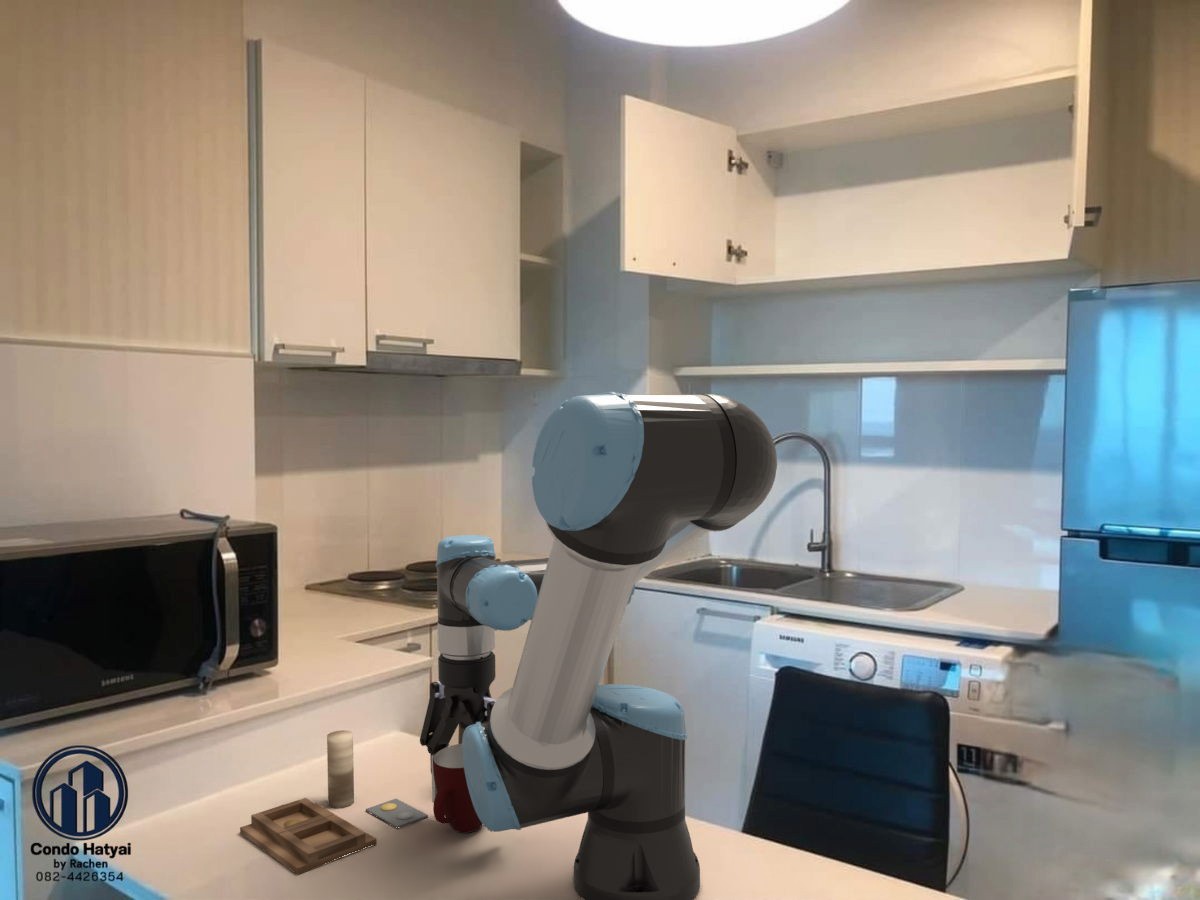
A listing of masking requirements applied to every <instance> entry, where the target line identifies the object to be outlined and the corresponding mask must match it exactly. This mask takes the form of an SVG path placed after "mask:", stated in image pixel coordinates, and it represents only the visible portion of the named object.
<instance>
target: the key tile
mask: <svg viewBox="0 0 1200 900" xmlns="http://www.w3.org/2000/svg"><path fill="white" fill-rule="evenodd" d="M367 811H368V812H370V813H372V814H373V815H372V814H371V815H372V816H374V815H375V816H377V817H378V818H377V817H376V818H377V819H379V818H380V819H379V820H381V819H382V820H381V821H383V820H384V821H385V823H386V822H387V823H386V824H388V823H389V824H388V825H390V824H391V825H393V826H395V827H397V828H398V827H401V828H403V827H406V826H409V825H411V824H414V823H416V822H419V821H422V820H425V819H427V818H429V815H428V814H427V813H426V812H423V811H421V810H420V809H417V808H415V807H413V806H412V805H410V804H408V803H405V802H404V801H402V800H400V799H398V798H393V799H390V800H387V801H385V802H382V803H380V804H376V805H373V806H370V807H368V808H365V812H367ZM368 812H367V813H368ZM370 813H369V814H370ZM375 816H374V817H375ZM426 817H427V818H426ZM424 818H425V819H424ZM421 819H422V820H421ZM384 821H383V822H384ZM408 824H409V825H408ZM391 825H390V826H391ZM405 825H406V826H405ZM393 826H392V827H393ZM402 826H403V827H402ZM395 827H394V828H395ZM397 828H396V829H397ZM398 829H399V828H398Z"/></svg>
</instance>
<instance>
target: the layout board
mask: <svg viewBox="0 0 1200 900" xmlns="http://www.w3.org/2000/svg"><path fill="white" fill-rule="evenodd" d="M250 819H251V820H250V821H251V822H250V824H246V825H244V826H243V825H242V826H241V827H239V830H240V831H239V834H240V835H242V836H243V837H245V838H246V839H247V840H249V841H250V842H251V843H253V844H255V845H256V846H257V847H259V848H260V849H262V850H263V851H264V852H265V853H267V854H268V855H269V856H271V857H272V858H274V859H275V860H277V861H278V862H280V863H281V864H282V865H283V866H285V867H286V866H287V867H286V868H288V869H289V868H290V869H291V871H292V872H293V871H294V872H293V873H295V874H296V873H297V874H298V875H300V873H301V874H303V873H306V872H308V871H311V870H314V869H316V868H318V867H321V865H322V866H324V865H326V864H325V863H327V864H329V863H328V862H330V861H332V860H334V859H337V858H339V857H342V856H344V855H347V854H349V853H352V852H355V851H358V850H361V849H363V848H365V847H368V846H371V845H374V846H376V845H377V838H375V837H374V836H373V835H371V834H369V833H367V832H366V831H365V830H362V829H361V828H359V827H357V826H356V825H354V824H352V823H351V822H349V821H347V820H345V819H344V818H342V817H340V816H338V815H337V814H335V813H334V812H332V811H330V810H329V809H327V808H325V807H324V806H322V805H320V804H318V803H317V802H313V801H311V800H310V799H308V798H306V797H303V798H300V799H297V800H294V801H290V802H287V803H284V804H282V805H279V806H275V807H273V808H269V809H267V810H263V811H259V812H257V813H253V814H251V816H250ZM375 844H376V845H375ZM371 847H372V846H371ZM361 851H362V850H361ZM358 852H359V851H358ZM337 860H338V859H337ZM332 862H333V861H332ZM330 863H331V862H330ZM323 864H324V865H323ZM290 869H289V870H290ZM297 874H296V875H297Z"/></svg>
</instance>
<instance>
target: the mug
mask: <svg viewBox="0 0 1200 900" xmlns="http://www.w3.org/2000/svg"><path fill="white" fill-rule="evenodd" d="M433 775H434V781H435V785H436V789H437V794H436V796H435V800H434V803H433V806H432V807H433V808H432V809H433V815H434V817H433V818H434V819H435V820H436V822H437V823H438V824H439V823H440V824H442V825H448V824H449V825H450V826H451V828H452V829H453V830H454V831H455V832H458V833H463V834H464V833H466V834H468V833H473V832H474V831H478V830H479V829H480V828H481V827H482V826H483V824H482V822H481V821H480V819H479V818H478V816H477V813H476V811H475V809H474V806H473V803H472V800H471V797H470V793H469V790H468V786H467V781H466V777H465V771H464V764H463V755H462V744H452V745H450V746H448V747H446V748H443V749H441V750H440V751H438V752H437V753H436V754H435V755H434V756H433Z"/></svg>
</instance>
